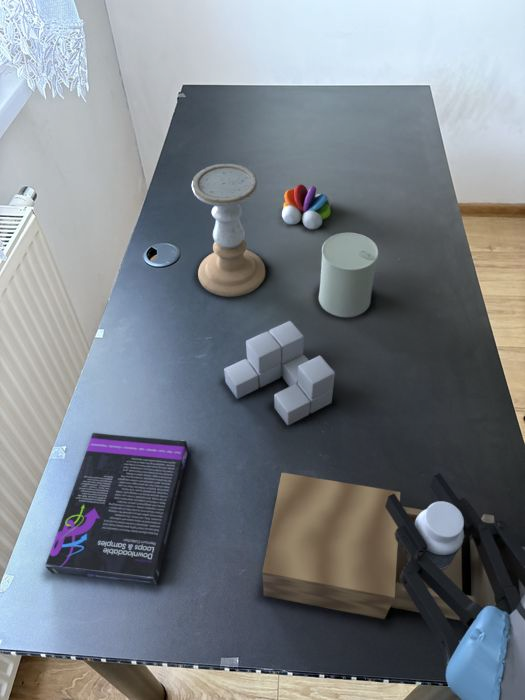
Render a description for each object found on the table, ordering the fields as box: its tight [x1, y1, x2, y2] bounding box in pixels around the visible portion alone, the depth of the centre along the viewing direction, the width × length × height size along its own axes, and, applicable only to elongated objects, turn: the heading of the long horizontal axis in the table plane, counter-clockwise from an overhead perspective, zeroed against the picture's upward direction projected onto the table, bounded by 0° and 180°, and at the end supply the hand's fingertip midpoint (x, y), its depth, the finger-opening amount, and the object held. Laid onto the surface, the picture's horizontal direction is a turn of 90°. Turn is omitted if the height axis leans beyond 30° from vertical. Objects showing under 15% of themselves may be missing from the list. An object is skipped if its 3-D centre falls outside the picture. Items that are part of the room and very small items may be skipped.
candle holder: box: [191, 163, 266, 298], centre depth 102 cm, size 12×12×20 cm
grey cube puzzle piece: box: [223, 320, 336, 426], centre depth 89 cm, size 12×12×8 cm
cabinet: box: [262, 472, 401, 620], centre depth 73 cm, size 15×13×9 cm
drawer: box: [390, 506, 525, 621], centre depth 71 cm, size 18×11×7 cm, turn 79°
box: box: [45, 432, 189, 586], centre depth 80 cm, size 14×4×20 cm
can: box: [318, 232, 379, 318], centre depth 100 cm, size 9×9×12 cm
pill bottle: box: [414, 500, 465, 571], centre depth 65 cm, size 5×5×9 cm
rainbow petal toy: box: [281, 183, 331, 230], centre depth 117 cm, size 8×10×7 cm
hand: (412, 490), depth 67 cm, fingers closed on pill bottle, 5 cm apart
